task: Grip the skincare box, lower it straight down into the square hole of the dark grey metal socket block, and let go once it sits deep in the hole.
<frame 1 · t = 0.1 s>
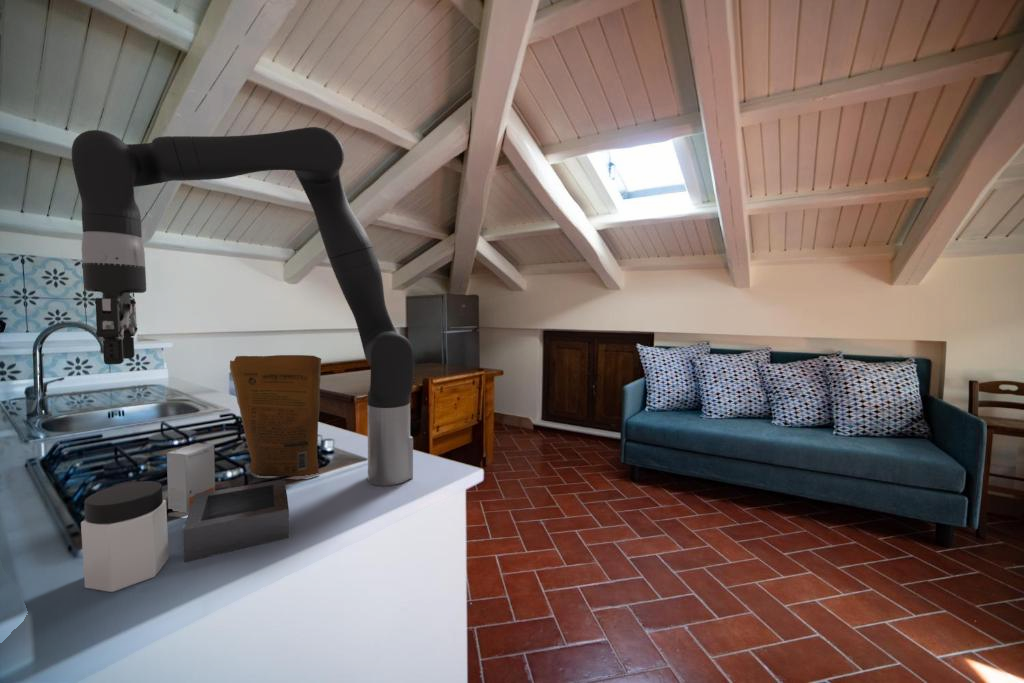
hand: (120, 361, 70), 29 cm above the counter, tool pointing down, fingers open, 8 cm apart
pancake mix bag: (282, 477, 95), on the counter
skincare box: (193, 511, 79), on the counter
socket block: (241, 529, 73), on the counter
jar: (129, 574, 60), on the counter
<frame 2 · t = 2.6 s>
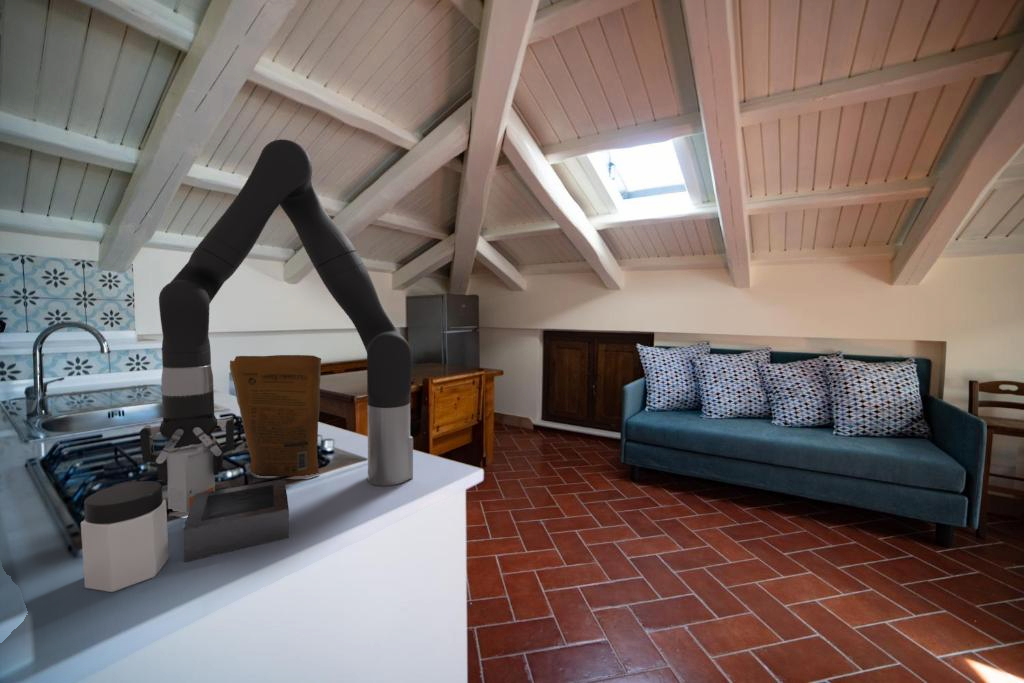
hand: (191, 477, 78), 6 cm above the counter, tool pointing down, fingers closed on skincare box, 7 cm apart
skincare box: (193, 511, 79), on the counter, touching gripper
everything else where it was.
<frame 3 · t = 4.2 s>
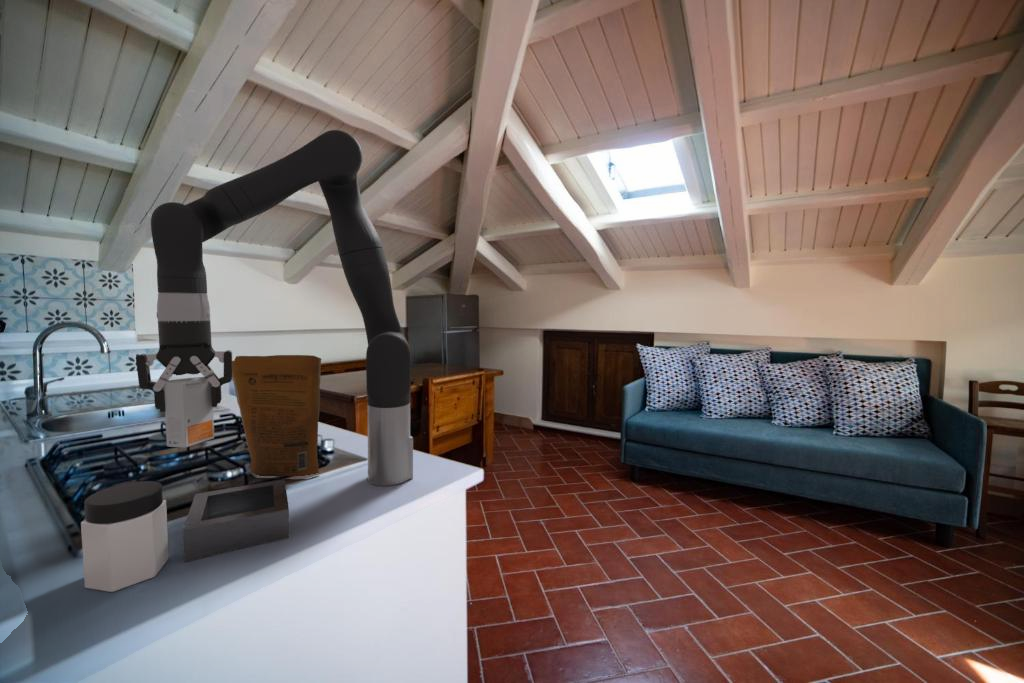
hand: (189, 408, 77), 19 cm above the counter, tool pointing down, fingers closed on skincare box, 7 cm apart
skincare box: (192, 443, 78), point 13 cm above the counter, touching gripper
everything else where it was.
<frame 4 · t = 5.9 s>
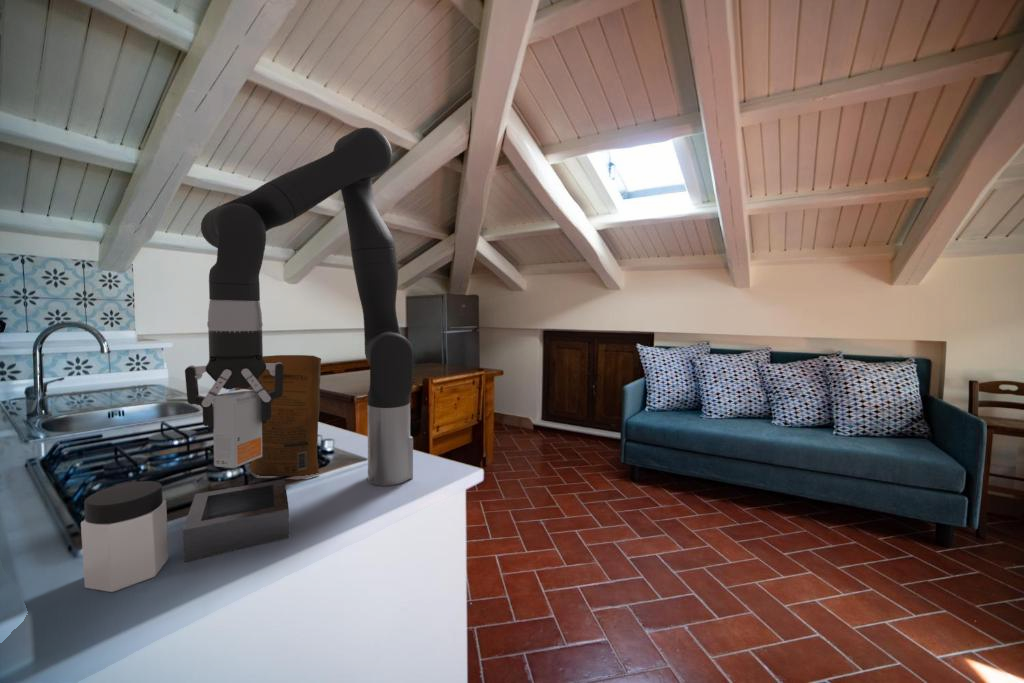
hand: (238, 424, 71), 18 cm above the counter, tool pointing down, fingers closed on skincare box, 7 cm apart
skincare box: (239, 462, 72), point 12 cm above the counter, touching gripper
everything else where it was.
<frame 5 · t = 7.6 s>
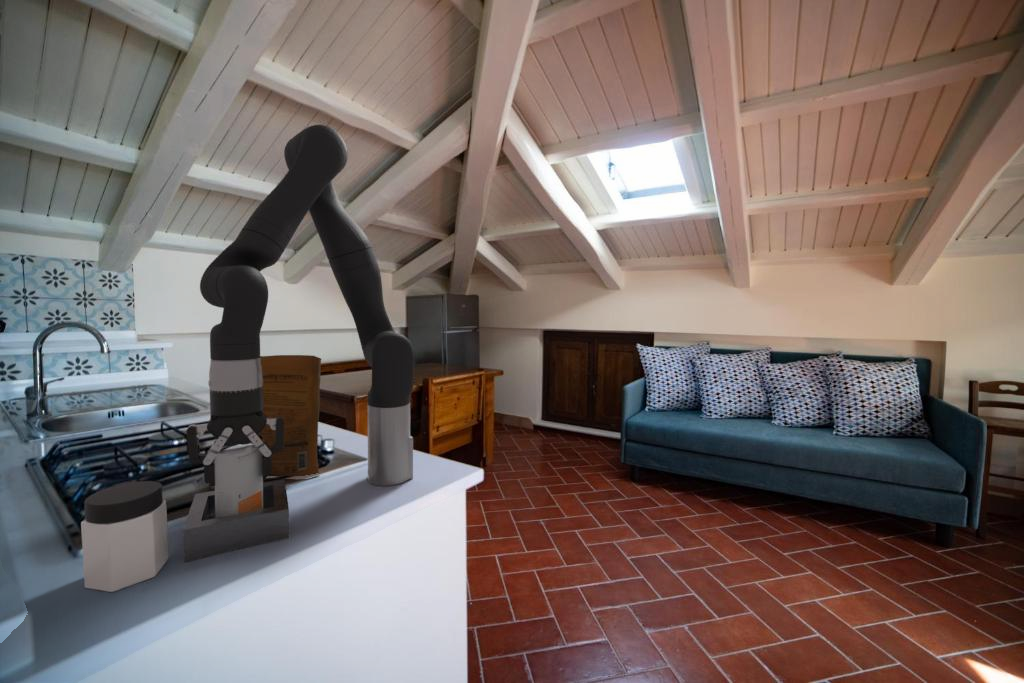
hand: (239, 480, 72), 9 cm above the counter, tool pointing down, fingers closed on skincare box, 7 cm apart
skincare box: (240, 517, 72), point 2 cm above the counter, touching gripper
everything else where it was.
when the fingers open (8 cm above the counter, at t = 9.1 s): skincare box drops 1 cm, resting in socket block.
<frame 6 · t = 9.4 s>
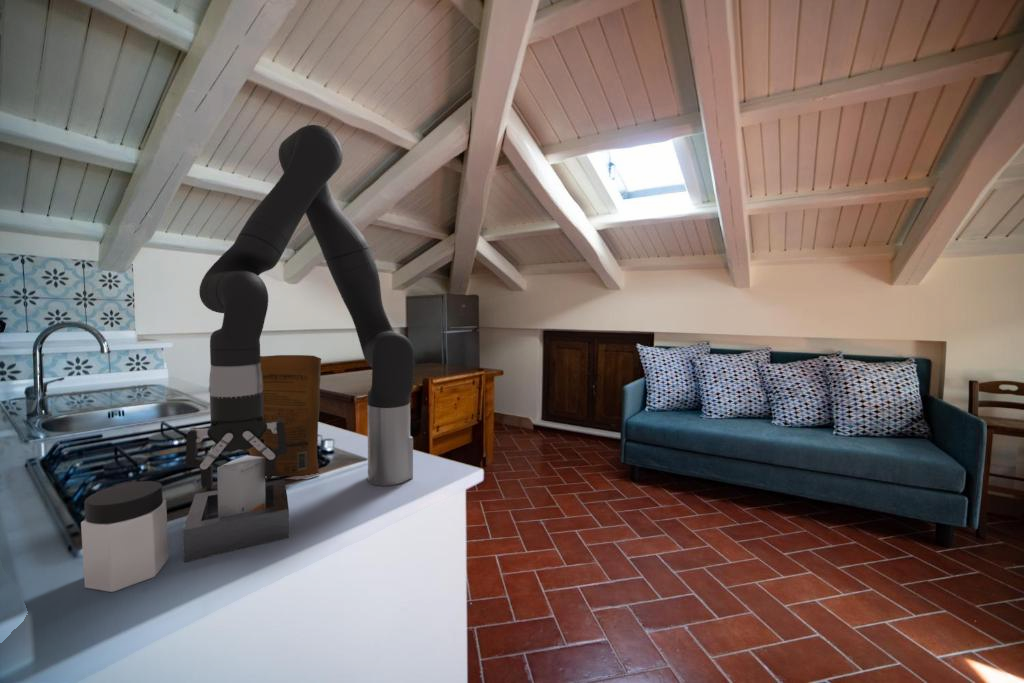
hand: (240, 483, 72), 8 cm above the counter, tool pointing down, fingers open, 8 cm apart
skincare box: (243, 529, 73), resting in socket block
everything else where it was.
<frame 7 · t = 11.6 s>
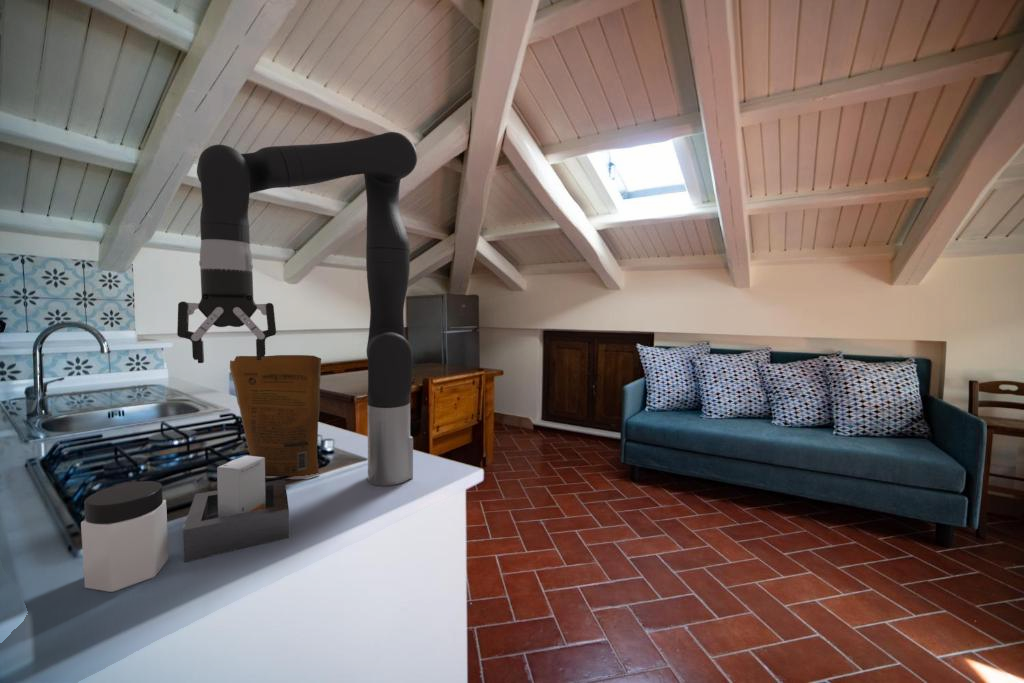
hand: (230, 361, 74), 29 cm above the counter, tool pointing down, fingers open, 8 cm apart
nothing on the counter moved.
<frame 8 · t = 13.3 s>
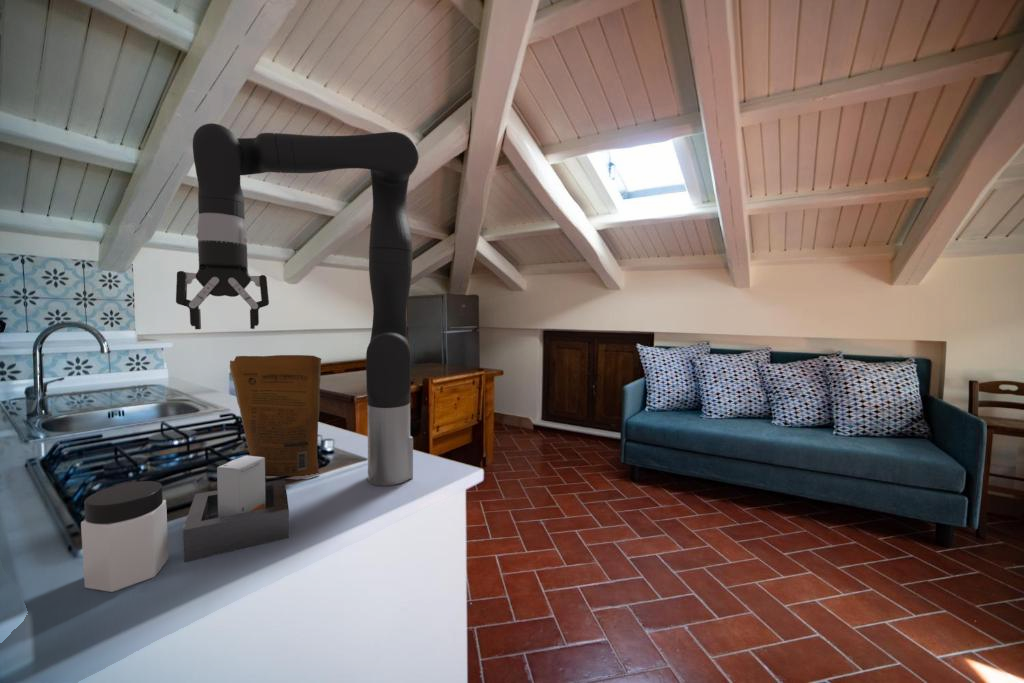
hand: (225, 328, 79), 34 cm above the counter, tool pointing down, fingers open, 8 cm apart
nothing on the counter moved.
at the end: skincare box 0.3 cm off-centre on the socket block, point 0.0 cm above the socket block's base; skincare box tilted 0°; the gripper is holding nothing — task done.
